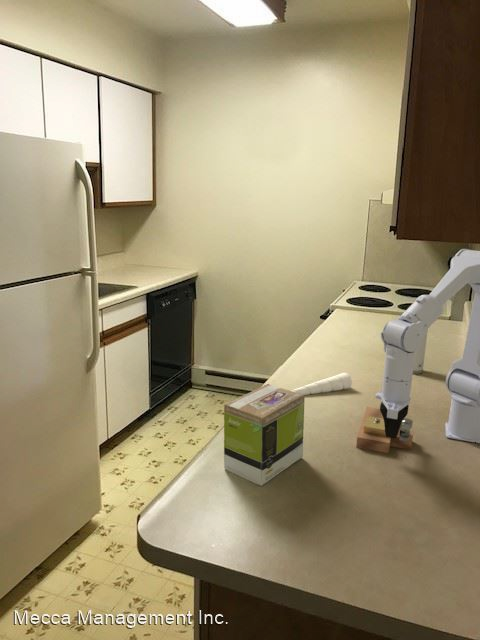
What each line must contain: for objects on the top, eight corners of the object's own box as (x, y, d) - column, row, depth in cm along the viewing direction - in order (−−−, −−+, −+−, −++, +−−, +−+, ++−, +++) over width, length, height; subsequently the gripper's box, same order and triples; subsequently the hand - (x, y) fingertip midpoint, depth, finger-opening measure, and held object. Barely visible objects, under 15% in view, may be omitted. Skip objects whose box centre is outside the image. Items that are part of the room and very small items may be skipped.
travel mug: (425, 375, 160) (432, 314, 155) (403, 373, 161) (410, 312, 156) (422, 368, 166) (429, 310, 161) (401, 366, 167) (408, 308, 162)
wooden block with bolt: (388, 425, 118) (389, 418, 117) (386, 436, 112) (386, 428, 112) (366, 421, 119) (367, 414, 119) (363, 432, 114) (364, 424, 114)
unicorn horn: (271, 393, 142) (272, 378, 141) (343, 385, 150) (344, 370, 149) (278, 400, 138) (279, 384, 136) (352, 391, 146) (353, 375, 145)
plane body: (413, 423, 125) (415, 407, 124) (410, 457, 108) (412, 439, 107) (366, 415, 129) (367, 400, 128) (356, 447, 112) (357, 429, 111)
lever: (401, 423, 115) (402, 414, 114) (412, 425, 114) (413, 416, 113) (397, 441, 106) (398, 432, 105) (409, 444, 105) (410, 434, 105)
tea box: (265, 443, 113) (268, 381, 110) (303, 458, 107) (307, 394, 103) (221, 469, 102) (223, 402, 98) (261, 488, 96) (264, 417, 92)
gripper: (381, 363, 112) (375, 419, 115) (374, 385, 99) (368, 448, 102) (414, 368, 110) (407, 425, 113) (411, 391, 96) (404, 454, 100)
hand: (391, 436), depth 107 cm, fingers closed
